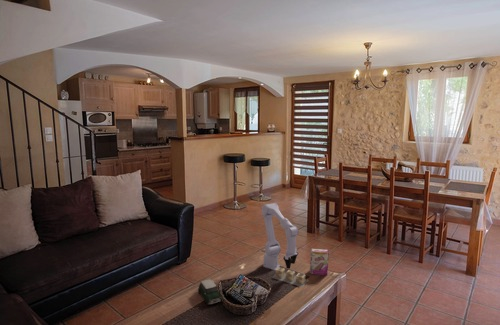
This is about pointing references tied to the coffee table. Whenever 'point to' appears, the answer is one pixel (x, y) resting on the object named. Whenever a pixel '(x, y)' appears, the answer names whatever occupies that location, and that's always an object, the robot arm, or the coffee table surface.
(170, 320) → the coffee table surface
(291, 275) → the plain block
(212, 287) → the miniature car
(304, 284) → the mat
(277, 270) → the block one
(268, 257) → the robot arm
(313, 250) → the candy bar box
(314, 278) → the coffee table surface
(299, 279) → the block two
